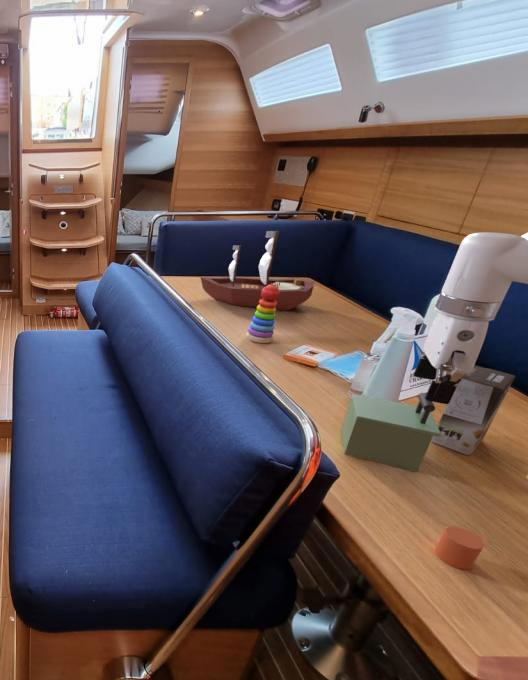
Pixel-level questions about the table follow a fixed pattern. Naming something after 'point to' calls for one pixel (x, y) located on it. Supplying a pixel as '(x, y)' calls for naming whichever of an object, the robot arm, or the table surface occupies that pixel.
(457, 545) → the cylinder
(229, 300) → the sailing ship
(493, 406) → the coffee box
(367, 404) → the green box lid
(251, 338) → the stacking toy
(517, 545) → the table surface
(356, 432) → the green hollow box
